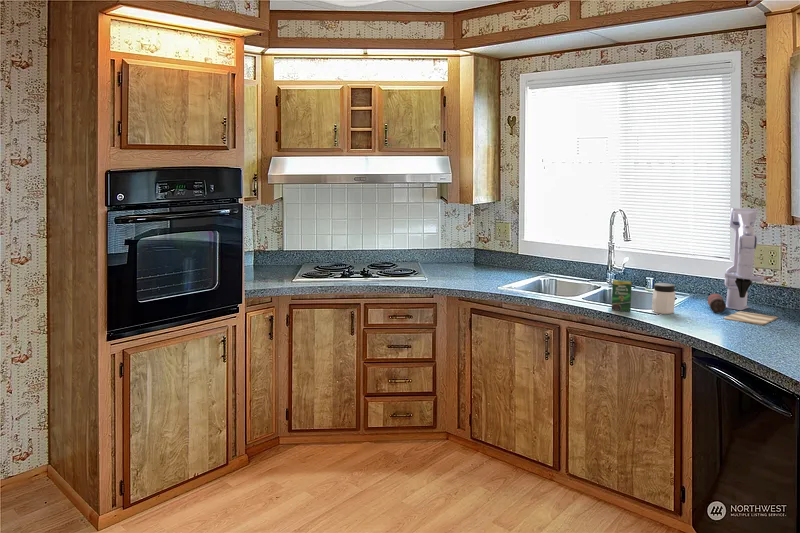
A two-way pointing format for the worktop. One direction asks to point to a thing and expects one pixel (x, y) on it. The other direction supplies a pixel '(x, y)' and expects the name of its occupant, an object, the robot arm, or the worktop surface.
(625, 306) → the green cardboard box
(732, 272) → the robot arm
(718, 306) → the can
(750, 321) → the wooden cutting board
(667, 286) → the jar
